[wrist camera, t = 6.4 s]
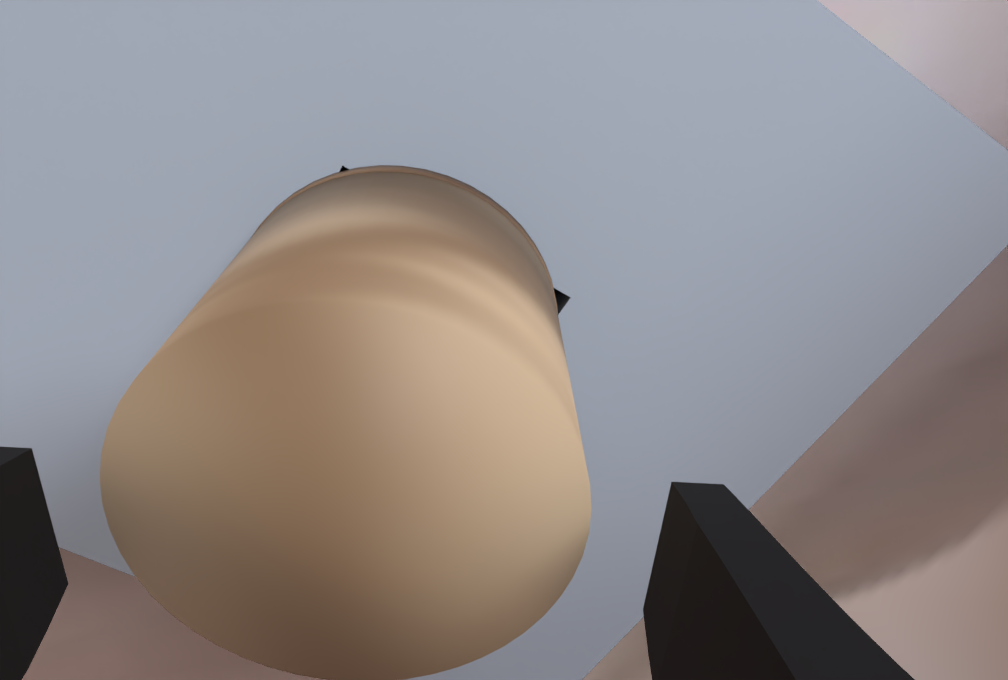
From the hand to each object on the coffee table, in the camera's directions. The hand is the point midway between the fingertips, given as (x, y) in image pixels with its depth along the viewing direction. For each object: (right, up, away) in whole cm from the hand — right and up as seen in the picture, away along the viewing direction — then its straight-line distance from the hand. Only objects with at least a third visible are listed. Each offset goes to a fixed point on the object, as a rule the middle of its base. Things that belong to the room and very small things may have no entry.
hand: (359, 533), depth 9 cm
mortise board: (0, +3, +6) cm, 7 cm away
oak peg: (0, +3, +6) cm, 7 cm away
